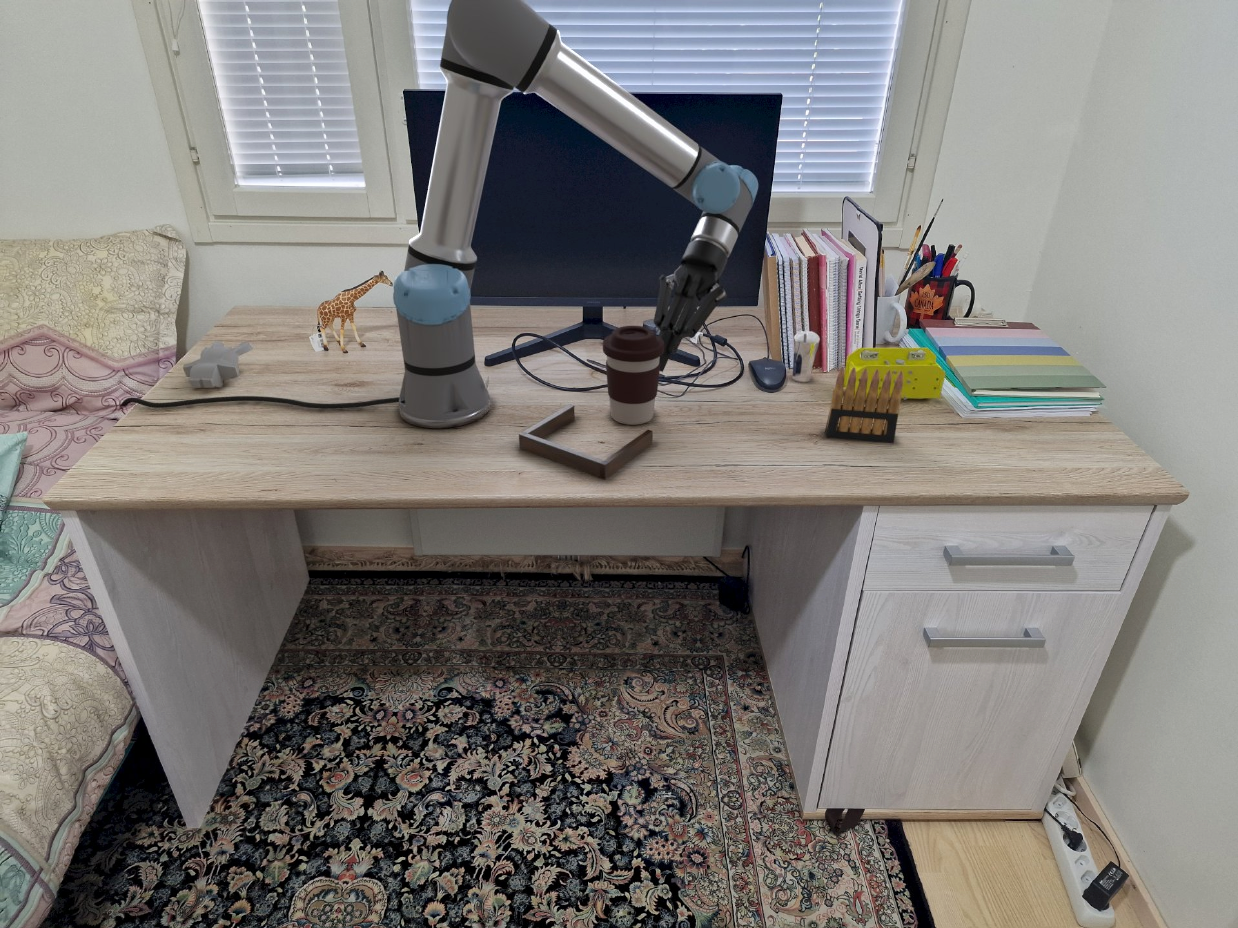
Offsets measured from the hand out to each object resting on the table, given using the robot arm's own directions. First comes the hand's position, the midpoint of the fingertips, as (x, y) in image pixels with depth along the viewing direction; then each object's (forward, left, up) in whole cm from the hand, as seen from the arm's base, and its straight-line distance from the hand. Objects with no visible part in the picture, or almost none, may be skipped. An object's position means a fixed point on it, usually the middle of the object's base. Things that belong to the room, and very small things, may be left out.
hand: (656, 367), depth 131 cm
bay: (-5, -19, -6) cm, 21 cm away
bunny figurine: (-79, -18, -7) cm, 82 cm away
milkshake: (+23, +18, -6) cm, 30 cm away
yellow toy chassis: (+39, +16, -6) cm, 43 cm away
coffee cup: (-2, -7, -7) cm, 10 cm away
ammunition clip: (+35, -2, -7) cm, 36 cm away
